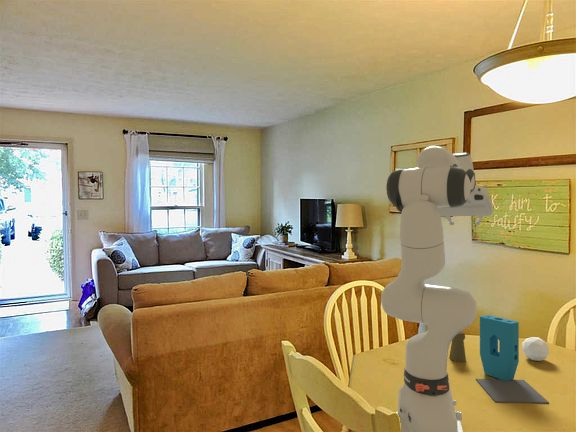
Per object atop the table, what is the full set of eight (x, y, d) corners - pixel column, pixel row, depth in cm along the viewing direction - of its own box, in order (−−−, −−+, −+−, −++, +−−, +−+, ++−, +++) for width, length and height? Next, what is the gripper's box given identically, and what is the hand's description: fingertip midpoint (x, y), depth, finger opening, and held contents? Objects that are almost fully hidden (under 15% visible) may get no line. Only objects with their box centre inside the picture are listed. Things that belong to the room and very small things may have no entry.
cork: (468, 362, 154) (469, 333, 153) (452, 362, 154) (453, 333, 154) (462, 355, 160) (462, 328, 160) (446, 355, 160) (447, 328, 160)
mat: (549, 403, 123) (549, 402, 123) (495, 402, 124) (495, 400, 124) (523, 380, 138) (523, 379, 138) (475, 379, 139) (475, 378, 139)
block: (478, 371, 145) (478, 316, 145) (486, 369, 148) (486, 314, 148) (511, 383, 135) (511, 323, 135) (520, 380, 138) (519, 321, 138)
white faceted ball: (558, 360, 150) (539, 351, 162) (549, 336, 151) (531, 329, 163) (535, 367, 151) (518, 358, 163) (526, 343, 151) (510, 336, 163)
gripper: (432, 197, 156) (435, 228, 161) (491, 195, 145) (493, 228, 151) (434, 190, 160) (438, 220, 166) (492, 188, 150) (493, 220, 156)
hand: (464, 224), depth 159 cm, fingers open, 8 cm apart
